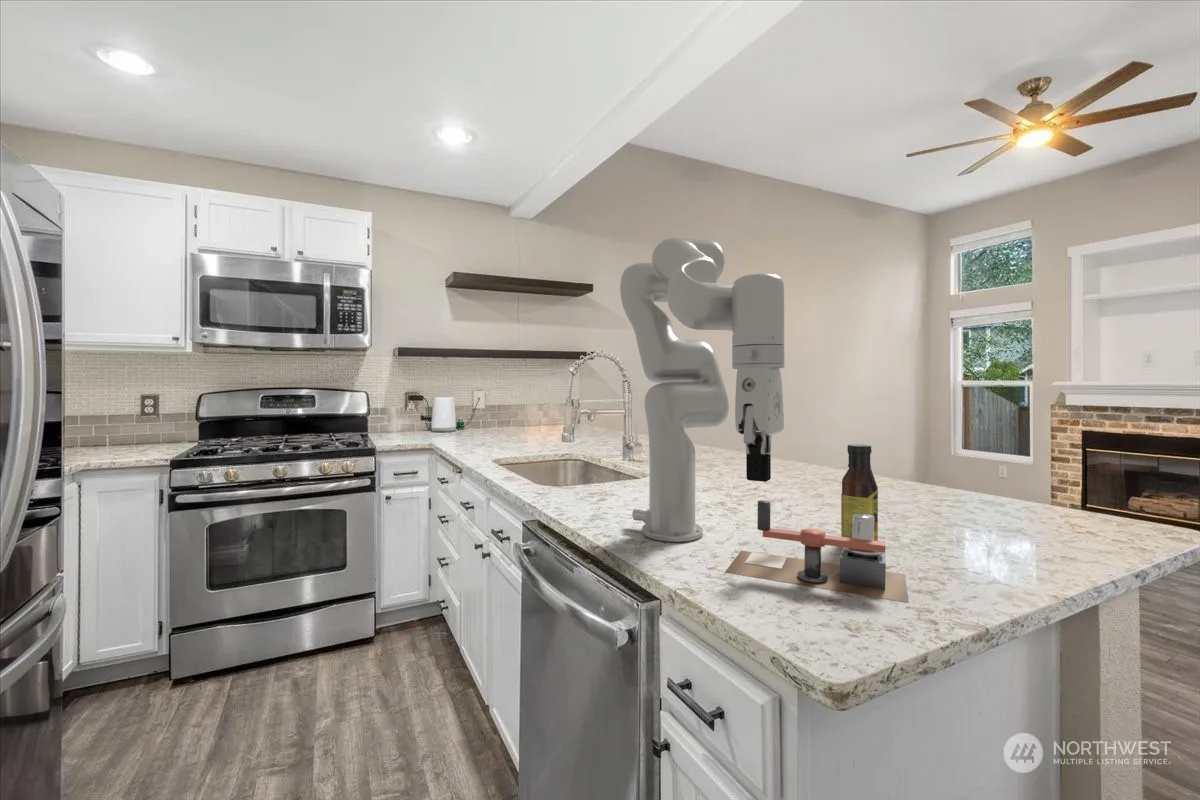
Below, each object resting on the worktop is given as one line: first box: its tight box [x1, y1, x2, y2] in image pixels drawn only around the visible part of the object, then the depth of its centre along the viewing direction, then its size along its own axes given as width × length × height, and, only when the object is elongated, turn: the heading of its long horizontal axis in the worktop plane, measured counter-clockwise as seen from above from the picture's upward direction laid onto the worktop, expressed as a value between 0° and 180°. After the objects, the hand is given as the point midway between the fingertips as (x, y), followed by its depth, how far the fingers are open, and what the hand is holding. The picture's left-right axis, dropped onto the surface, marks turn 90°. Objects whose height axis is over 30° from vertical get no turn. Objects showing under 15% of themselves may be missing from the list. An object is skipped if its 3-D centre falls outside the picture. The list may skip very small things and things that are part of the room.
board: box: [724, 550, 910, 604], centre depth 86 cm, size 26×12×1 cm, turn 63°
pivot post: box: [798, 545, 828, 584], centre depth 84 cm, size 4×4×5 cm
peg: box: [843, 514, 883, 560], centre depth 83 cm, size 6×6×10 cm
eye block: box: [839, 547, 887, 590], centre depth 83 cm, size 6×6×4 cm
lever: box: [757, 499, 886, 554], centre depth 83 cm, size 18×4×6 cm, turn 63°
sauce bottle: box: [840, 443, 879, 541], centre depth 100 cm, size 6×6×20 cm
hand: (758, 479), depth 80 cm, fingers closed
